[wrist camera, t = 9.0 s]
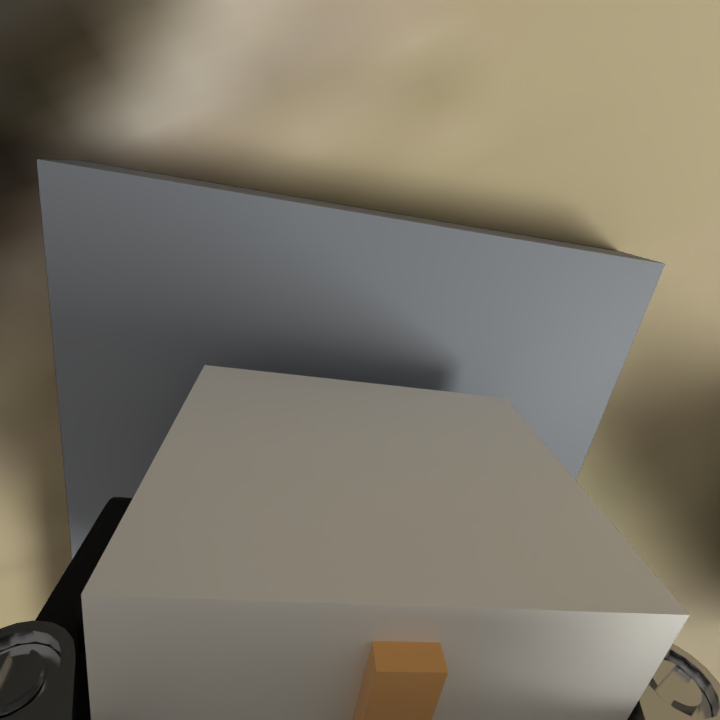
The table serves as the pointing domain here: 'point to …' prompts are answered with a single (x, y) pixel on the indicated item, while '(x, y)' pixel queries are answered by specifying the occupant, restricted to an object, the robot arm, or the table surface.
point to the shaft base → (308, 312)
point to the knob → (365, 567)
